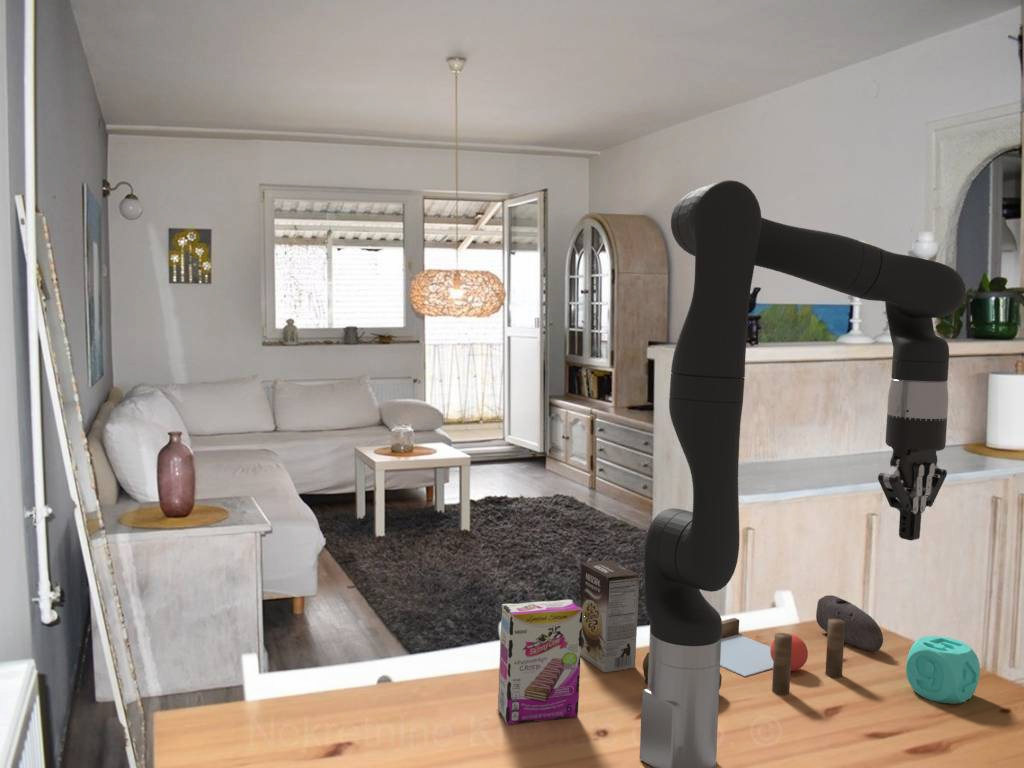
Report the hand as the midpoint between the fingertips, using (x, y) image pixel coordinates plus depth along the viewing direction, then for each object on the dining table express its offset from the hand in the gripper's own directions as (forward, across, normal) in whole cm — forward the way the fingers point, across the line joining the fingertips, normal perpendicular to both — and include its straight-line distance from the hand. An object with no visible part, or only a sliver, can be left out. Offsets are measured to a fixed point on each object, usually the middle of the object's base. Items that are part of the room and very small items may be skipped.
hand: (909, 538), depth 128 cm
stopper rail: (+29, +6, +42) cm, 52 cm away
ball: (+26, +8, +25) cm, 37 cm away
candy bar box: (+29, -38, +33) cm, 58 cm away
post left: (+29, 0, +20) cm, 35 cm away
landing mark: (+29, +6, +34) cm, 45 cm away
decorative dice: (+29, +21, +6) cm, 36 cm away
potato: (+29, -16, +26) cm, 42 cm away
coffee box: (+29, -16, +44) cm, 55 cm away
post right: (+29, +13, +20) cm, 37 cm away
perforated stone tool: (+29, +28, +28) cm, 49 cm away
